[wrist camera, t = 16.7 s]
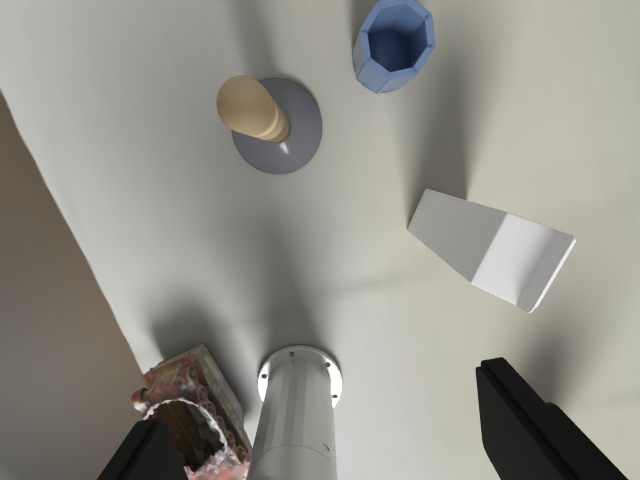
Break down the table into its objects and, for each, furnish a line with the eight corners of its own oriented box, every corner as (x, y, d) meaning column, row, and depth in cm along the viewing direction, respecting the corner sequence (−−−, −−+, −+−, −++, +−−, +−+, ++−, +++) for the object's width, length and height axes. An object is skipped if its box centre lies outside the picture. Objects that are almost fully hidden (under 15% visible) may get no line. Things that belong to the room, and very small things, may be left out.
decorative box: (239, 324, 47) (219, 366, 37) (285, 432, 52) (277, 494, 42) (155, 349, 48) (115, 396, 38) (208, 453, 52) (184, 517, 43)
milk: (466, 203, 42) (618, 251, 21) (446, 245, 44) (569, 329, 22) (424, 187, 42) (536, 219, 20) (405, 230, 43) (491, 301, 22)
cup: (417, 85, 39) (438, 70, 32) (358, 98, 39) (366, 86, 32) (409, 18, 37) (430, -13, 30) (348, 32, 37) (354, 5, 31)
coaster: (329, 164, 41) (329, 164, 40) (245, 181, 42) (244, 182, 41) (311, 70, 38) (311, 69, 38) (222, 90, 39) (220, 89, 38)
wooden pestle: (294, 140, 40) (275, 127, 22) (265, 146, 40) (225, 138, 22) (287, 109, 39) (263, 70, 21) (258, 115, 39) (210, 82, 21)
